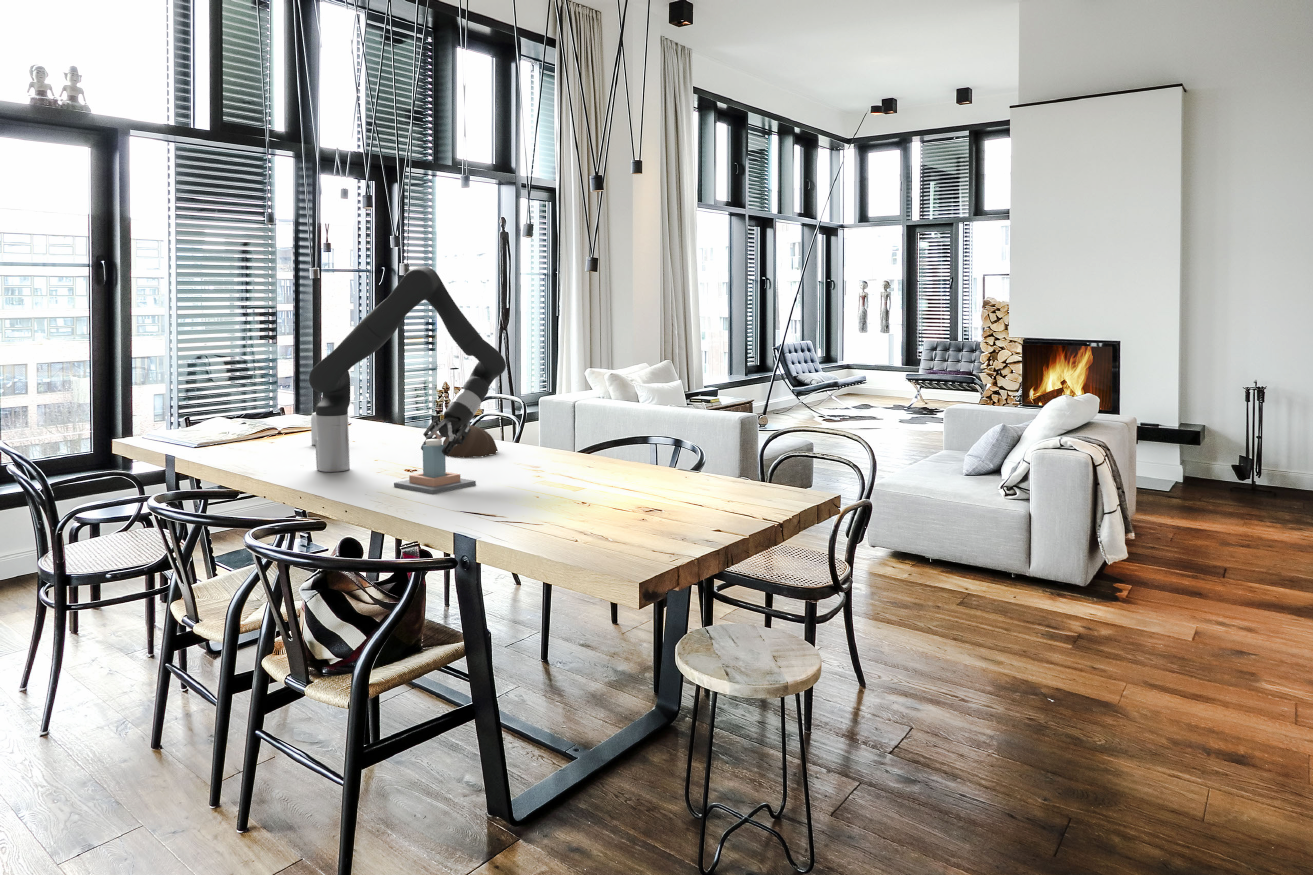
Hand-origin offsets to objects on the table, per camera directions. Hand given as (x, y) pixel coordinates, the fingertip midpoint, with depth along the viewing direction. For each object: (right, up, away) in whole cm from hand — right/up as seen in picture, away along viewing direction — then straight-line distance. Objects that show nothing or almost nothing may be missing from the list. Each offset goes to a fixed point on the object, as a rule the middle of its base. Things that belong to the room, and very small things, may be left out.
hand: (433, 452), depth 253 cm
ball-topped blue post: (0, -8, +2) cm, 8 cm away
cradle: (0, -10, +2) cm, 10 cm away
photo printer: (-57, +2, +73) cm, 93 cm away
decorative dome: (-2, -2, +59) cm, 59 cm away
